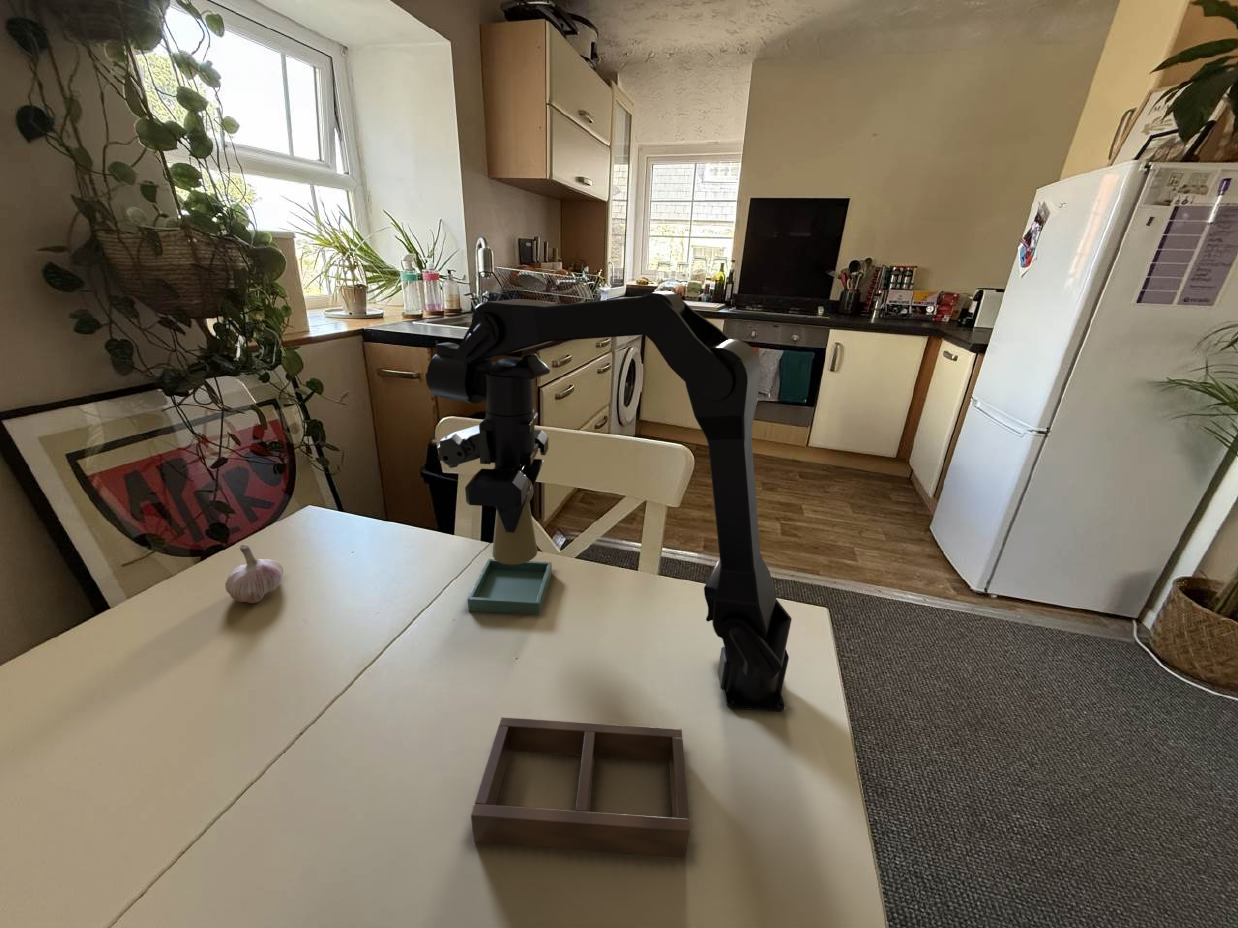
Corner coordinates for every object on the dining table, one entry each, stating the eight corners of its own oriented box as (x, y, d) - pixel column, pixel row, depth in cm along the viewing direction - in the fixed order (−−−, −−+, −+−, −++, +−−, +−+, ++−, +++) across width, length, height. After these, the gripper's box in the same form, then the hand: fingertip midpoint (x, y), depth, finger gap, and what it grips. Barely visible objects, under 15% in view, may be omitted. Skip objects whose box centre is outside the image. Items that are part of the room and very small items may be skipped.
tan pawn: (528, 567, 64) (526, 491, 60) (484, 560, 65) (479, 484, 61) (543, 543, 70) (542, 472, 65) (503, 537, 70) (499, 466, 66)
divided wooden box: (678, 753, 50) (681, 728, 49) (686, 857, 41) (690, 831, 40) (503, 741, 51) (501, 716, 49) (473, 842, 42) (470, 815, 41)
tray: (551, 572, 78) (551, 562, 77) (539, 615, 69) (539, 603, 68) (489, 569, 78) (488, 558, 78) (468, 610, 69) (467, 599, 68)
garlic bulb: (253, 613, 67) (238, 563, 64) (213, 601, 69) (196, 552, 66) (301, 581, 74) (289, 534, 71) (263, 571, 76) (250, 526, 72)
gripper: (468, 387, 68) (475, 488, 74) (410, 430, 51) (426, 558, 57) (548, 391, 68) (549, 493, 74) (518, 437, 51) (522, 564, 57)
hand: (514, 522), depth 66 cm, fingers closed on tan pawn, 4 cm apart
